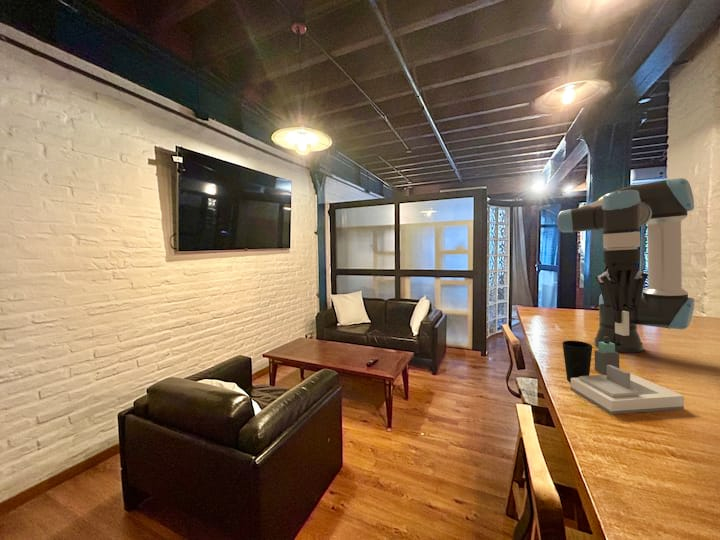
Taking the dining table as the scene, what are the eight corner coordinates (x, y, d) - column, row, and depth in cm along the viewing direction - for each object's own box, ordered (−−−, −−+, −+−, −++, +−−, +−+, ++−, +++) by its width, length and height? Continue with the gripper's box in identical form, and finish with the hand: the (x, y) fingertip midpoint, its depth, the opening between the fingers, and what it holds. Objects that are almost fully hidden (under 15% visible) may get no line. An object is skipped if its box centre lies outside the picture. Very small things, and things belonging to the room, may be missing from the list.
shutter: (603, 377, 88) (602, 361, 87) (639, 395, 76) (639, 377, 76) (579, 378, 87) (579, 363, 87) (612, 397, 76) (612, 379, 76)
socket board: (632, 385, 89) (632, 373, 89) (683, 409, 75) (683, 395, 75) (570, 389, 89) (570, 378, 89) (611, 414, 75) (611, 400, 75)
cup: (594, 388, 89) (593, 349, 88) (563, 383, 93) (563, 346, 92) (591, 378, 95) (590, 342, 95) (562, 374, 99) (561, 339, 99)
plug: (608, 369, 102) (608, 335, 101) (619, 373, 98) (619, 338, 97) (594, 370, 101) (594, 335, 101) (604, 374, 97) (604, 339, 97)
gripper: (631, 247, 84) (631, 329, 85) (586, 250, 84) (588, 332, 85) (658, 247, 77) (659, 336, 78) (610, 250, 76) (611, 339, 77)
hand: (622, 334), depth 81 cm, fingers closed
